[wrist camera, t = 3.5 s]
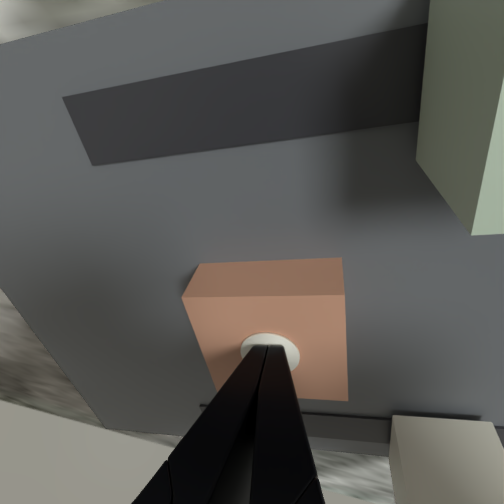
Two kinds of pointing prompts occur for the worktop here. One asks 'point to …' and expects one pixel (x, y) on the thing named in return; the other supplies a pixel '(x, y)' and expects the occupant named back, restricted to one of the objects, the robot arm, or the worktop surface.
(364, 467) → the worktop surface
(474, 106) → the sage slider
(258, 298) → the terracotta button
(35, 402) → the worktop surface
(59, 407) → the worktop surface
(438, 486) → the cream slider
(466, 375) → the control panel
